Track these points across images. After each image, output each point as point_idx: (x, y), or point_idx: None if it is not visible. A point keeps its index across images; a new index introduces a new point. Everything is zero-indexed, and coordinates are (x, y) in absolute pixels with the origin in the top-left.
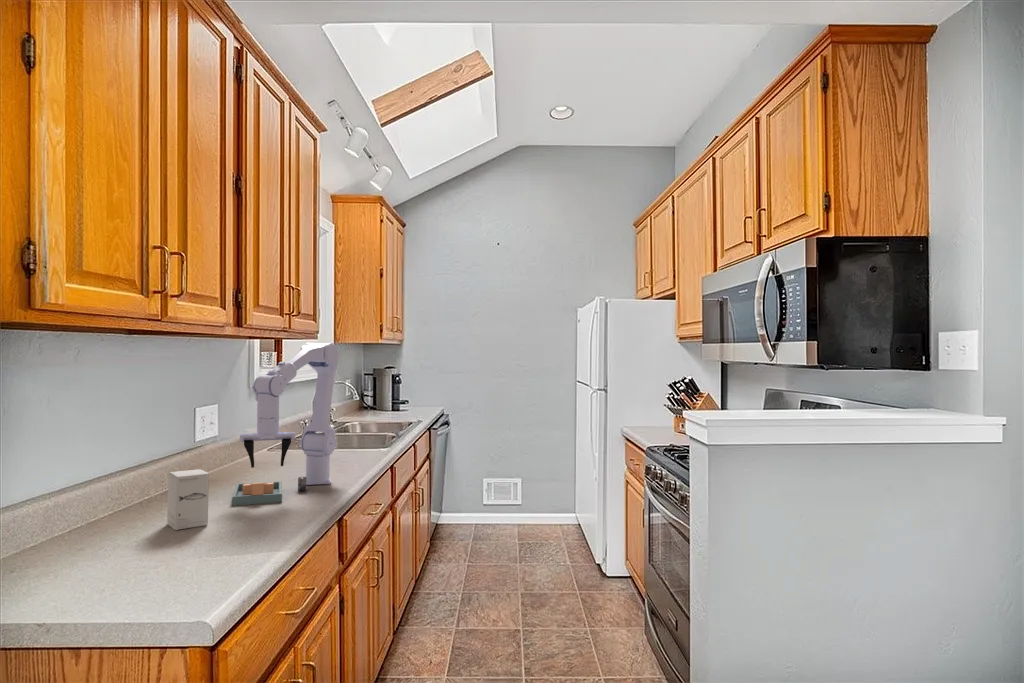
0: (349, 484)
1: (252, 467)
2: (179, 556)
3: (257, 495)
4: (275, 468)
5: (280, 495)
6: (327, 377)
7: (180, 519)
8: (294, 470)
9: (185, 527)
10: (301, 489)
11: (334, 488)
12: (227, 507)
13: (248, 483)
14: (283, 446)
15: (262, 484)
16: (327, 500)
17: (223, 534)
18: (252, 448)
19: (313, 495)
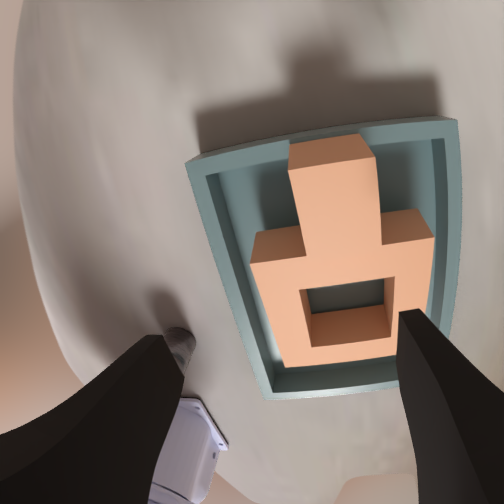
0: (85, 376)
1: (411, 311)
2: None
3: (322, 133)
4: (323, 501)
5: (195, 158)
6: None
7: None
8: (278, 492)
9: None
10: (174, 334)
11: (97, 348)
12: (448, 80)
13: (395, 384)
14: (24, 455)
15: (295, 165)
16: (45, 187)
17: None
18: (490, 478)
19: (113, 269)
